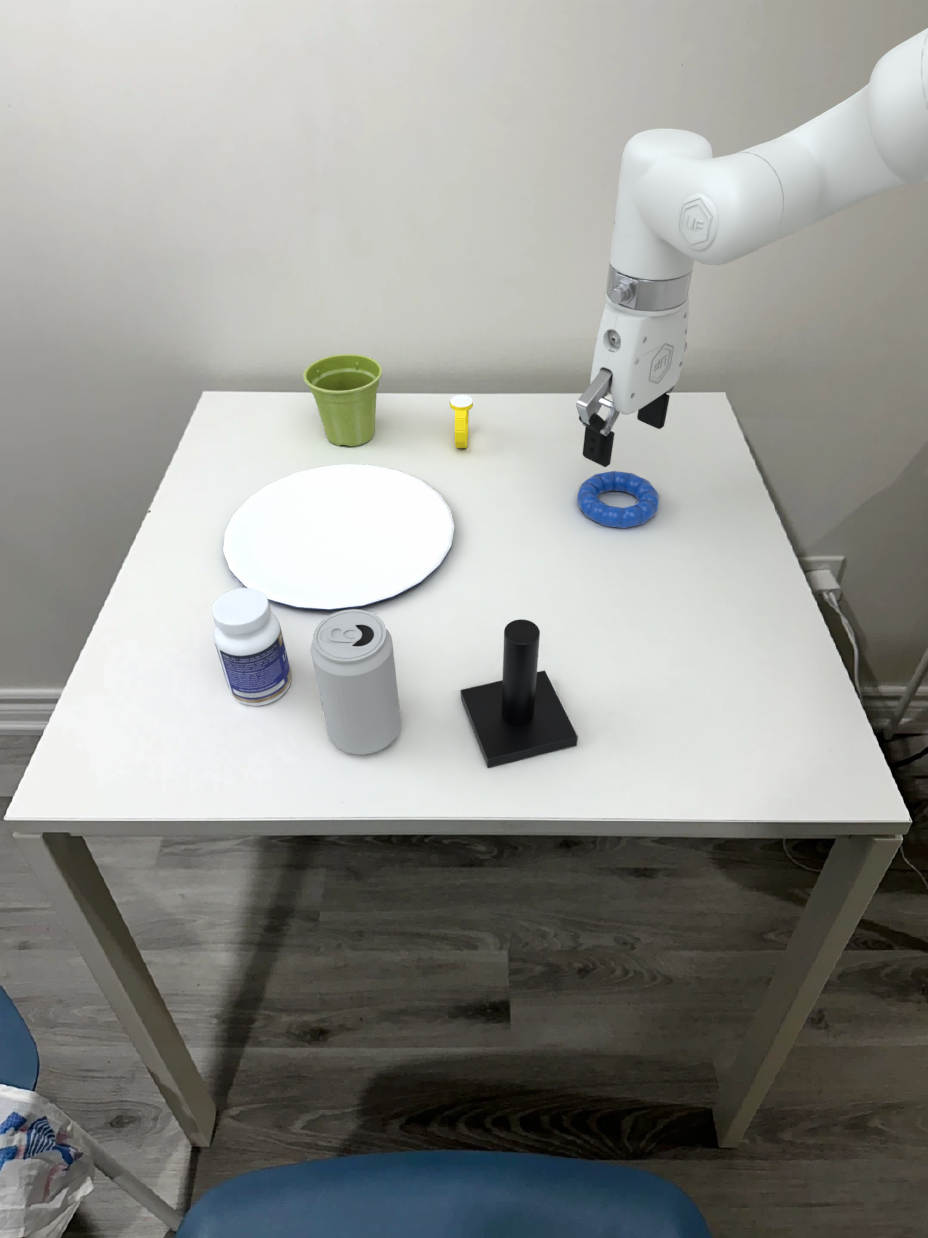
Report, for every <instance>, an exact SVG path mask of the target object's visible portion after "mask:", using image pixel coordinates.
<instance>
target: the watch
mask: <svg viewBox="0 0 928 1238" xmlns="http://www.w3.org/2000/svg"><path fill="white" fill-rule="evenodd" d="M473 400H474V399H473V397H471V396H470V395H467V394H456V395H454V396H452V397H451V398H450V400H449V407H450V409H451V410H453V411H454V447H455V449H467V448H468V443H469V442H468V441H469V419H470V417H469V416H470V415H469V414H470V413H469V411H470V410H472V408H473V406H474V401H473Z"/></svg>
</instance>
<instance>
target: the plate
mask: <svg viewBox="0 0 928 1238" xmlns="http://www.w3.org/2000/svg"><path fill="white" fill-rule="evenodd" d="M444 499H445V498H443V496H442V495H441V494H440V492H438V491H437V490H436V489H435V488H433V487H431V485H429V484H428V483H426V482H425V481H423V480H422V479H420V478H417V477H416V476H413V475H410V474H408V473H406V472H404V471H402V470H398V469H393V468H390V467H389V468H388V467H384V466H380V465H374V464H360V463H359V464H357V463H356V464H355V463H342V464H333V465H322V466H317V467H313V468H310V469H305V470H301V471H297V472H294V473H291V474H289V475H287V476H285V477H284V476H283V477H282V478H279V479H277V480H275V481H273V482H270V483H269V484H267V485H266V486H264V487H263V488H261V489H259V490H258V491H257V492H255V493H253V494H252V495H251V496H249V497H248V498H247V499H246V500H245V501H244V502H243V503H242V505H240V506H239V507H238V509H237V510H236V511H235V512H234V513H233V515H232V516H231V518H230V520H229V523H228V525H227V527H226V529H225V531H224V534H223V535H224V537H223V548H222V549H223V550H222V552H223V556H224V557H225V560H226V563H227V566H228V568H229V571H230V572H231V573H232V574H233V576H234V577H235V578H236V579H237V580H238V581H239V582H240V583H241V584H242V586H243V587H244V588H253V589H257V590H259V591H261V592H263V593H264V594H265V595H266V597H267V598H268V601H270V602H273V603H278V604H281V605H284V606H288V607H292V608H296V609H305V610H318V611H335V610H347V609H356V608H361V607H362V608H363V607H366V606H370V605H373V604H376V603H379V602H383V601H387V600H390V599H393V598H395V597H397V596H399V595H401V594H403V593H404V592H407V591H408V590H410V589H412V588H414V587H417V586H418V585H420V584H421V583H423V582H424V580H426V579H427V578H429V576H430V575H432V574H433V573H434V572H435V571H436V570H437V569H439V567H441V565H442V563H443V562H444V560H445V558H446V556H447V555H448V553H449V552H450V550H451V548H452V545H453V541H454V540H453V539H454V534H455V529H456V527H455V523H454V518H453V514H452V513H453V512H452V510H451V507H450V506H449V505H448V504H447V502H446V501H445V500H444Z"/></svg>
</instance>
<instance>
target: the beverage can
mask: <svg viewBox="0 0 928 1238" xmlns="http://www.w3.org/2000/svg"><path fill="white" fill-rule="evenodd" d="M393 643H394V642H393V638H392V635H391V633H390V631H389V630H388V628H387V627H386V625H385V623H384V621H383V620H382V619H381V618H380V617H379V616H378V615H376V613H375V614H374V613H373V612H370V611H368V610H364V609H359V608H358V609H357V608H349V609H342V610H340V611H336V612H333V613H332V614H330V615H327V616H326V617H325V618H324V619H322V620H321V621H320V622H319V623H318V624H317V626H316V628H315V629H314V632H313V638H312V641H311V645H310V655H311V661H312V666H313V671H314V674H315V675H314V676H315V680H316V685H317V690H318V694H319V699H320V704H321V709H322V714H323V718H324V723H325V728H326V733H327V736H328V738H329V740H330V741H331V743H332V744H333V745H334V746H335V748H337V749H339V750H341V752H345V753H348V754H352V755H359V756H361V755H370V754H374V753H377V752H379V751H382V750H384V749H385V748H387V747H388V746H390V745H391V744H392V742H394V740H395V739H396V738H397V737H398V735H399V733H400V730H401V724H402V718H401V709H400V701H399V700H400V699H399V690H398V682H397V673H396V672H397V671H396V664H395V652H394V644H393Z"/></svg>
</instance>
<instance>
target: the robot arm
mask: <svg viewBox="0 0 928 1238" xmlns="http://www.w3.org/2000/svg"><path fill="white" fill-rule="evenodd" d="M925 182H928V27H927V28H925V29H923V30H921V31H920V32H918V33H916V34H915V35H913V36H912V37H910V38H908V39H906V40H905V41H903V42H901V43H900V44H897V45H896V46H895V47H893V48H891V49H890V50H889V51H887V52H885V54H884V55H882V56H881V58H879V60H878V61H877V62H876V64H875V66H874V67H873V69H872V72H871V75H870V77H869V82H868V83H867V84H866V85H864V86H863V87H862V88H861V89H859V90H858V91H857V92H855V93H854V94H852V95H851V96H849V97H848V98H846V99H845V100H843V101H841V102H839V103H838V104H836V105H835V106H833V107H832V108H829V109H827V110H826V111H824V112H823V113H821V114H819V115H817V116H815V117H814V118H812V119H810V120H808V121H806V122H804V123H803V124H801V125H800V126H797V127H796V128H794V129H792V130H790V131H788V132H786V133H784V134H782V135H780V136H779V137H776V138H774V139H771V140H768V141H765V142H762V143H760V144H759V143H758V144H756V145H754V146H751V147H748V148H745V149H743V150H740V151H738V152H737V151H736V152H735V153H732V154H727V155H723V156H718V157H714V152H713V148H712V146H711V143H710V142H709V141H708V140H707V139H706V137H704V136H702V135H700V134H698V133H696V132H693V131H691V130H685V129H679V128H663V127H662V128H661V127H660V128H653V129H647V130H643V131H640V132H638V133H636V134H634V135H633V136H632V137H631V138H629V140H628V141H627V142H626V144H625V146H624V148H623V151H622V156H621V163H620V169H619V177H618V186H617V196H616V203H615V212H614V213H615V214H614V221H613V227H612V235H611V236H612V237H611V246H610V252H609V253H610V254H609V263H608V270H607V280H606V286H605V287H606V288H605V295H604V296H605V300H606V303H605V305H604V308H603V312H602V316H601V319H600V322H599V323H600V324H599V326H598V330H597V331H598V332H597V337H596V341H595V346H594V351H593V358H592V363H591V370H590V371H591V372H590V380H589V385H588V386H587V388H586V389H585V390H584V391H583V392H582V394H581V395H580V396H579V397H578V399H577V401H576V403H575V407H576V410H577V413H578V420H579V421H580V423H581V424H582V426H583V427H585V429H584V438H583V445H582V456H583V457H584V458H585V459H587V460H589V461H590V462H591V461H592V462H593V463H596V464H597V465H599V466H601V467H604V468H607V467H608V466H610V465H611V462H612V456H613V455H612V454H613V448H614V440H615V434H616V433H615V432H614V431H613V427H614V425H615V424H616V422H617V419H618V418H619V416H620V414H621V415H624V416H629V415H632V414H634V413H636V412H637V414H636V415H637V416H636V417H637V418H636V419H637V420H638V421H639V422H641V423H643V424H646V425H648V426H650V427H653V428H655V429H658V430H661V429H662V428H663V427H665V423H666V418H667V414H668V407H669V403H670V398H671V396H670V394H671V393H673V390H674V388H675V385H676V384H677V383H678V382H679V380H680V378H681V374H682V369H683V363H684V358H685V357H684V356H685V352H686V350H687V346H688V342H687V334H688V333H687V332H688V326H689V313H690V312H689V309H690V308H689V307H690V305H689V304H690V301H689V290H690V286H691V281H692V274H693V270H694V269H693V268H694V265H695V264H694V263H695V262H697V263H700V264H703V265H708V266H721V265H726V264H729V263H731V262H735V261H736V260H739V259H741V258H743V257H746V256H747V255H750V254H752V253H754V252H756V251H758V250H759V249H762V248H764V247H765V246H768V245H770V244H772V243H775V242H777V241H779V240H781V239H784V238H786V237H788V236H791V235H793V234H795V233H797V232H799V231H801V230H803V229H807V228H808V227H810V226H813V225H815V224H817V223H818V222H821V221H823V220H826V219H827V218H829V217H831V216H833V215H835V214H838V213H840V212H843V211H844V210H846V209H848V208H849V209H850V208H851V207H853V206H856V205H857V204H860V203H862V202H864V201H866V200H869V199H871V198H873V197H875V196H877V195H880V194H882V193H884V192H887V191H889V190H892V189H894V188H896V187H898V186H902V185H907V186H912V187H914V186H917V185H920V184H923V183H925ZM609 395H611V398H612V401H611V400H610V399H608V398H605V397H607V396H609ZM602 406H604V408H607V409H610V410H609V411H608V414H607V415H606V417H605V419H603V418H602V417H601V416H600V415H599V412H600V410H601V408H602Z"/></svg>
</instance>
